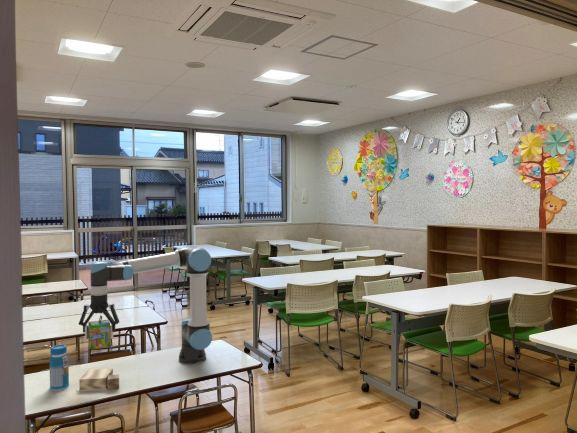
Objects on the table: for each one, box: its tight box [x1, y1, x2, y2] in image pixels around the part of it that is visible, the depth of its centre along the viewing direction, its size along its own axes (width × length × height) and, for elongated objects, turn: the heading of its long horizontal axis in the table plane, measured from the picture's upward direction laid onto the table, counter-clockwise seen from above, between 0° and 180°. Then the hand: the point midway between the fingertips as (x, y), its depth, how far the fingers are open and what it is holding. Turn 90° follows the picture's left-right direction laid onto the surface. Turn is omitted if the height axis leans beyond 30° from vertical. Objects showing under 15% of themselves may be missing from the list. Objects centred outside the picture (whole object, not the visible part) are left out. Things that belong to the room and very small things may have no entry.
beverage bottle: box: [48, 344, 70, 391], centre depth 212 cm, size 8×8×20 cm
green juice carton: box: [87, 314, 112, 351], centre depth 215 cm, size 9×9×15 cm
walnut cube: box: [107, 373, 120, 391], centre depth 211 cm, size 5×5×5 cm
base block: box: [78, 368, 114, 390], centre depth 215 cm, size 12×12×5 cm
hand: (99, 338), depth 215 cm, fingers closed on green juice carton, 11 cm apart
